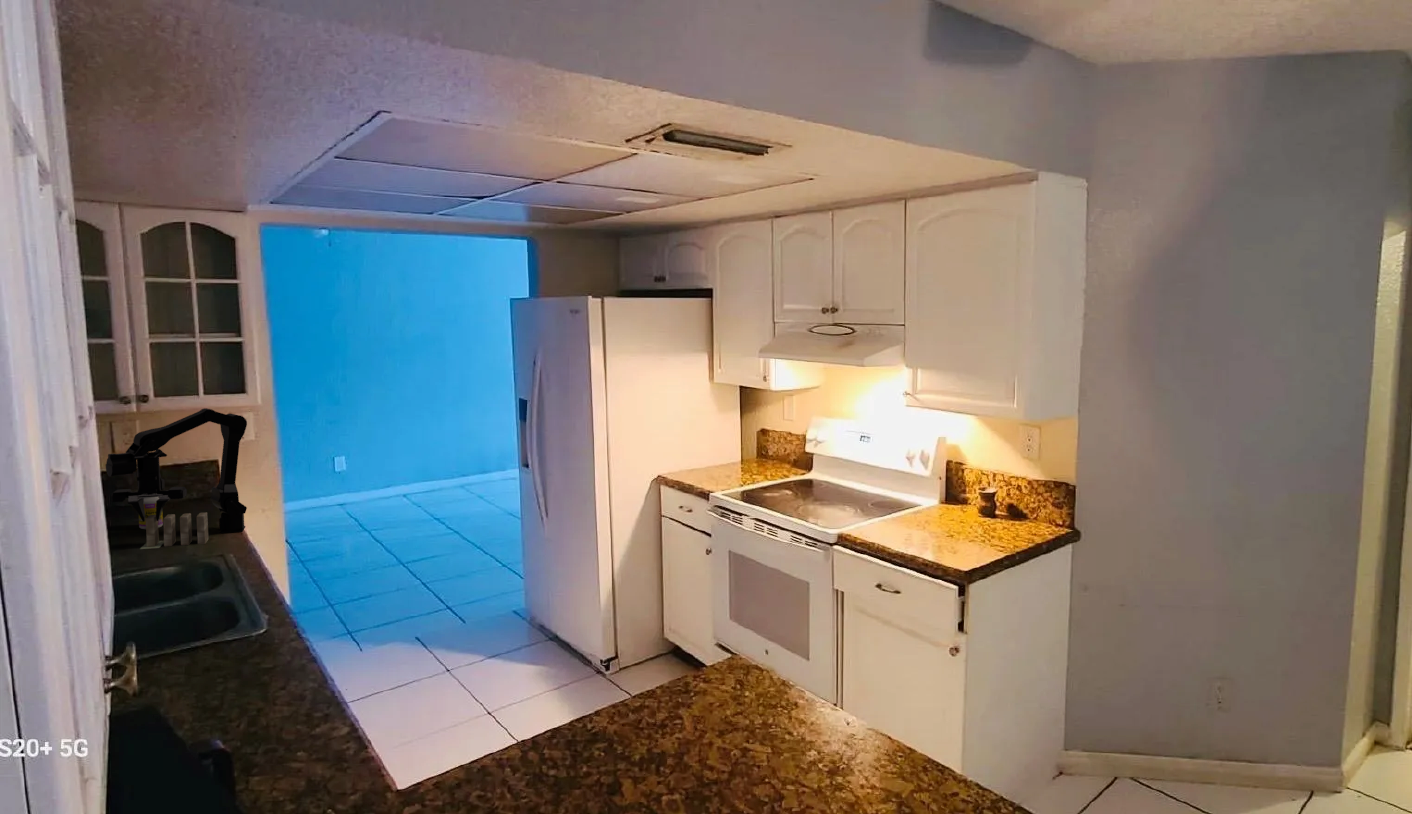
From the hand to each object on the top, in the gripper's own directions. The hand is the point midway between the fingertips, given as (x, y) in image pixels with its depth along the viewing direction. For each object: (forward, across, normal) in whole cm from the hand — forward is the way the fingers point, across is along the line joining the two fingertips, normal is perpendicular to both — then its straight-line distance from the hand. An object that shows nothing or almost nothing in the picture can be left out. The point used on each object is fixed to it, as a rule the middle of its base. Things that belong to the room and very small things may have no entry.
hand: (151, 521), depth 246 cm
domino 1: (+8, -5, 0) cm, 9 cm away
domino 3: (+8, -14, 0) cm, 16 cm away
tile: (+8, 0, 0) cm, 8 cm away
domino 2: (+8, -9, 0) cm, 12 cm away
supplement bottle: (+8, +6, -24) cm, 26 cm away
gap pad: (+8, 0, 0) cm, 8 cm away
